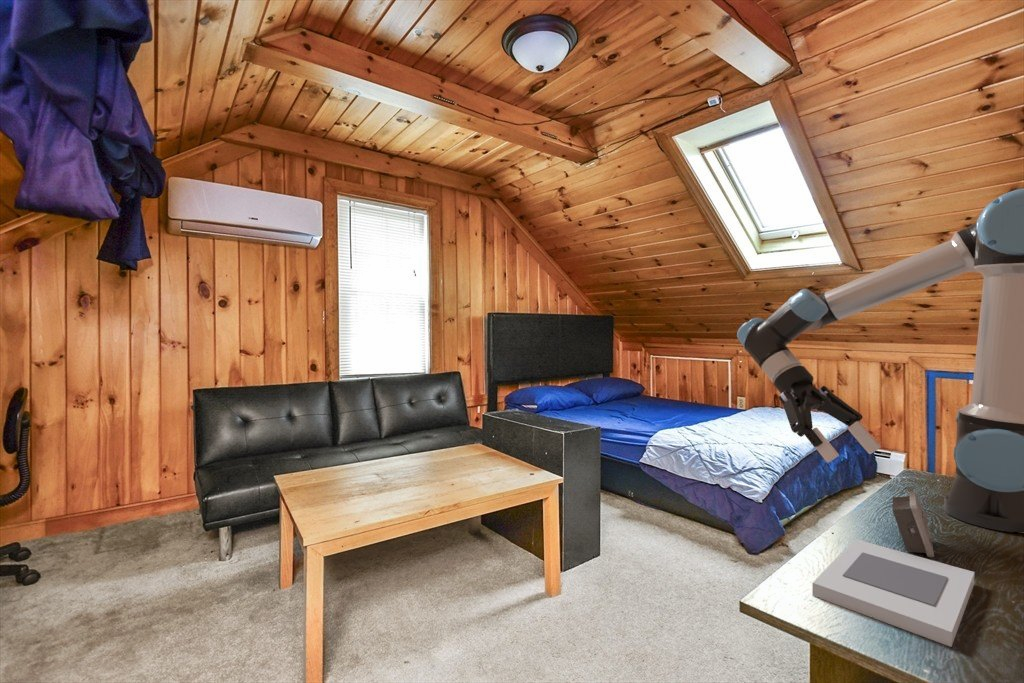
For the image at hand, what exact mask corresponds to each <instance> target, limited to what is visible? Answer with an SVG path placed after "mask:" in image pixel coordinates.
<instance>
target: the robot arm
mask: <svg viewBox="0 0 1024 683" xmlns="http://www.w3.org/2000/svg"><path fill="white" fill-rule="evenodd" d="M968 272H969V273H970V272H971V273H977V274H980V275H981V276H982V277H983V282H982V292H981V293H982V294H981V299H980V300H981V301H980V311H979V312H980V313H979V322H978V329H977V330H978V331H977V342H976V350H975V351H976V352H975V358H974V359H975V360H974V370H973V380H972V390H971V399H970V402H969V403H968V404H967V405H965V406H963V407H961V408H959V409H958V410H957V416H956V417H955V422H956V440H955V446H954V449H953V459H954V463H955V475H954V476H955V477H954V478H953V481H952V483H951V486H950V488H949V491H948V495H946V496H945V497H944V500H943V504H944V505H943V510H944V512H945V513H946V514H948V515H949V516H951V517H952V518H954V519H956V520H960V521H962V522H963V523H966V524H967V523H968V524H970V525H975V526H977V527H981V528H986V529H990V530H995V531H1000V532H1005V531H1006V532H1007V533H1013V532H1024V187H1023V188H1018V189H1014V190H1011V191H1009V192H1007V193H1003V194H1001V195H1000V196H998V197H997V198H995V199H993V200H992V201H990V202H989V203H988V204H987V205H986V206H985V207H984V208H983V210H982V211H981V212H980V214H979V216H978V218H977V220H976V222H975V223H973V224H971V225H969V226H967V227H965V228H963V229H960V230H958V231H956V232H954V233H953V235H952V237H951V238H950V239H949V240H947V241H945V242H942V243H940V244H937V245H935V246H932V247H931V248H928V249H925V250H923V251H921V252H919V253H916V254H913V255H911V256H908V257H907V258H904V259H901V260H899V261H897V262H894V263H891V264H890V265H887V266H885V267H883V268H881V269H878V270H875V271H873V272H870V273H868V274H866V275H863V276H861V277H859V278H857V279H853V280H851V281H849V282H847V283H845V284H841V285H840V286H837V287H835V288H833V289H829V290H828V291H826V292H823V293H820V294H818V295H816V293H814V292H813V291H811V290H810V289H808V288H807V289H806V288H803V289H800V290H799V291H798V292H796V293H795V294H793V295H792V296H791V297H789V299H788V300H787V301H786V302H785V303H784V304H782V305H781V306H780V307H779V308H778V309H776V310H775V311H774V312H773V313H772V314H771V315H770V316H768V317H767V318H766V319H763V318H761V317H754V318H751V319H749V321H745V322H744V323H743V324H741V326H740V327H739V328H738V330H737V333H736V337H737V339H738V341H739V343H740V344H741V345H742V346H743V349H744V350H745V351H746V353H748V355H749V356H751V358H752V359H753V361H754V362H755V363H756V365H757V366H758V367H759V368H760V369H761V371H763V373H765V375H766V377H767V378H768V379H769V380H770V381H771V382H772V383H773V385H774V387H775V388H776V389H777V391H778V392H779V393H780V394H779V395H778V400H779V401H780V403H781V404H782V406H783V408H784V412H785V414H786V418H787V422H788V423H789V426H790V429H791V431H792V432H793V433H794V434H796V435H798V437H803V436H805V437H806V439H807V440H808V441H809V442H810V444H811V445H812V446H813V447H814V448H815V449H816V451H817V452H818V453H819V454H820V456H821V457H822V458H823V459H824V461H825V463H831V462H832V461H833V460H835V459H836V458H838V457H839V456H840V454H839V453H838V452H837V450H836V449H835V447H834V446H833V445H832V444H831V443H830V442H829V441H828V439H827V438H826V437H825V436H824V434H823V433H822V432H821V430H820V429H819V428H818V427H814V426H813V418H812V410H817V411H819V412H824V413H826V414H827V415H829V416H831V417H833V419H836V420H837V421H839V422H840V423H842V424H844V425H846V426H848V427H846V429H847V431H849V432H850V433H851V435H852V436H853V437H854V439H855V440H857V442H858V443H859V445H861V447H863V449H864V450H865V451H866V452H867V454H869V455H871V454H873V453H874V452H876V451H878V450H879V449H881V448H882V446H881V445H880V444H879V443H878V442H877V440H876V439H875V438H874V437H873V436H872V435H871V433H870V432H869V431H868V430H867V429H866V428H865V427H864V426H863V424H862V423H861V422H860V421H862V420H863V415H862V414H861V413H860V412H859V411H857V409H854V408H853V407H851V406H850V405H849V404H848V403H846V402H845V401H844V400H843V399H841V398H840V397H838V396H837V395H836V394H834V393H833V392H832V391H831V390H830V389H829V388H828V387H827V386H825V385H823V386H821V387H820V388H817V387H816V386H814V384H813V382H814V376H813V375H812V374H811V373H810V371H809V370H808V368H806V366H803V365H802V362H801V361H800V360H799V359H798V357H796V356H795V354H794V353H793V352H792V351H791V350H790V348H788V346H787V345H788V344H789V343H791V342H792V341H793V340H794V339H796V338H797V337H798V336H800V335H801V334H803V333H804V332H805V331H813V332H814V331H818V330H820V329H822V328H824V327H825V326H827V325H831V324H833V323H835V322H837V321H840V320H843V319H845V318H849V317H851V316H854V315H857V314H859V313H862V312H864V311H867V310H870V309H872V308H875V307H877V306H880V305H883V304H885V303H888V302H890V301H893V300H896V299H899V298H901V297H905V296H907V295H910V294H912V293H914V292H917V291H920V290H924V289H925V288H928V287H931V286H934V285H936V284H939V283H941V282H945V281H947V280H949V279H952V278H955V277H957V276H961V275H962V274H965V273H968Z"/></svg>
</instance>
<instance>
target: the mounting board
mask: <svg viewBox="0 0 1024 683" xmlns="http://www.w3.org/2000/svg"><path fill="white" fill-rule="evenodd" d="M974 586H975V571H972V570H969V569H965V568H961V567H957V566H953V565H951V564H946V563H942V562H939V561H937V560H933V559H928V558H924V557H921V556H918V555H914V554H910V553H909V552H904V551H900V550H896V549H893V548H890V547H885V546H882V545H879V544H876V543H875V544H874V543H871V542H868V541H864V540H860V539H857V538H854V539H853V540H852V541H851V542H850V543H849V544H848V545H847V547H845V548H844V549H843V550H842V551H841V552H840V553H839V555H837V557H836V558H834V559H833V561H832V562H831V563H830V564H829V565H828V566H827V567H826V568H825V569H824V570H823V571H822V572H821V573H820V574H819V575H818V577H816V579H815V580H814V581H812V588H811V590H812V593H811V594H812V596H813V595H814V596H813V597H815V596H816V598H818V597H819V598H818V599H820V600H823V601H826V602H829V603H832V604H835V605H837V606H840V607H843V608H845V609H848V610H850V611H854V612H856V613H859V614H861V615H864V616H867V617H870V618H872V617H873V618H872V619H875V620H877V621H881V622H883V623H884V624H885V623H886V624H889V625H891V626H894V627H896V628H899V629H902V630H904V631H907V632H910V633H913V634H915V635H917V636H921V637H924V638H925V639H929V640H930V641H933V642H937V643H939V644H942V645H944V646H947V647H949V648H952V646H953V645H954V644H953V643H954V641H955V638H956V636H957V633H958V630H959V627H960V624H961V622H962V619H963V617H964V613H965V611H966V608H967V605H968V603H969V600H970V597H971V594H972V592H973V589H974Z"/></svg>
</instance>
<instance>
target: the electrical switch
mask: <svg viewBox="0 0 1024 683" xmlns="http://www.w3.org/2000/svg"><path fill="white" fill-rule="evenodd" d="M891 509H892V512H893V516H894V519H895V522H896V524H897V528H898V530H899V533H900V536H901V539H902V542H903V545H904V548H905V551H906V553H919V554H920V553H924V554H926V556H927V558H935V553H934V552H935V551H934V547H933V540H932V538H933V537H932V534H931V531H930V528H929V526H928V516H927V513H926V512H924V511H923V508H922V505H921V502H920V500H919V498H918V495H917V493H916V492H915V491H909V495H905V496H899V497H898V496H892V507H891Z"/></svg>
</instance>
